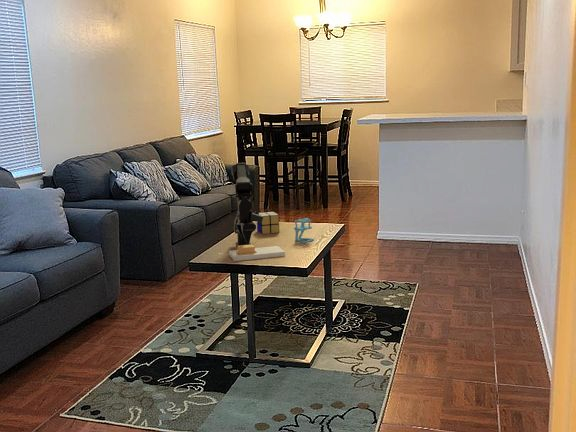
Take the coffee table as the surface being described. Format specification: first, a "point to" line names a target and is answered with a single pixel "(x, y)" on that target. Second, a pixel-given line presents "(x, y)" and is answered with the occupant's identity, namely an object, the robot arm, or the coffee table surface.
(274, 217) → the puzzle cube
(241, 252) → the beige block
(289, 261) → the coffee table surface
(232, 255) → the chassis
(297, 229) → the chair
